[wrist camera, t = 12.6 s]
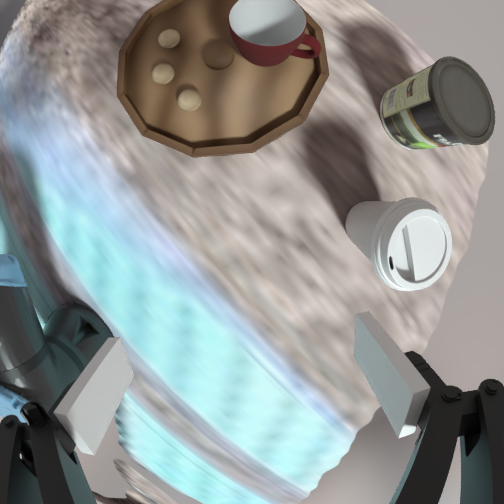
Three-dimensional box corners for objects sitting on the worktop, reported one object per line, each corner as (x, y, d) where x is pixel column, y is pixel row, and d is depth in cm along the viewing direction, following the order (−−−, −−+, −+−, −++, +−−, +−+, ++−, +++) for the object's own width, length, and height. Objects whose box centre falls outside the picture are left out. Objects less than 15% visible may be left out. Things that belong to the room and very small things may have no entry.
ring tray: (126, 168, 36) (117, 167, 33) (131, 9, 29) (125, 1, 26) (330, 151, 35) (336, 149, 32) (308, -10, 28) (311, -20, 25)
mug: (314, 38, 30) (331, 2, 20) (310, 86, 32) (329, 57, 22) (238, 28, 30) (233, -11, 20) (230, 76, 32) (222, 43, 22)
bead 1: (161, 53, 30) (154, 45, 28) (162, 37, 30) (155, 28, 27) (182, 49, 30) (176, 40, 27) (182, 33, 30) (177, 23, 27)
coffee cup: (337, 186, 36) (386, 192, 22) (398, 194, 36) (463, 206, 22) (331, 255, 39) (370, 298, 24) (390, 258, 39) (446, 297, 24)
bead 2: (155, 88, 32) (148, 82, 29) (156, 70, 31) (148, 62, 28) (177, 84, 32) (170, 77, 29) (177, 66, 31) (171, 58, 28)
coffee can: (440, 149, 34) (502, 146, 21) (386, 151, 35) (444, 144, 21) (427, 87, 32) (482, 64, 18) (372, 83, 32) (420, 49, 19)
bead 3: (181, 115, 33) (175, 110, 30) (180, 94, 32) (174, 88, 29) (203, 112, 33) (199, 106, 30) (203, 91, 32) (198, 84, 29)
